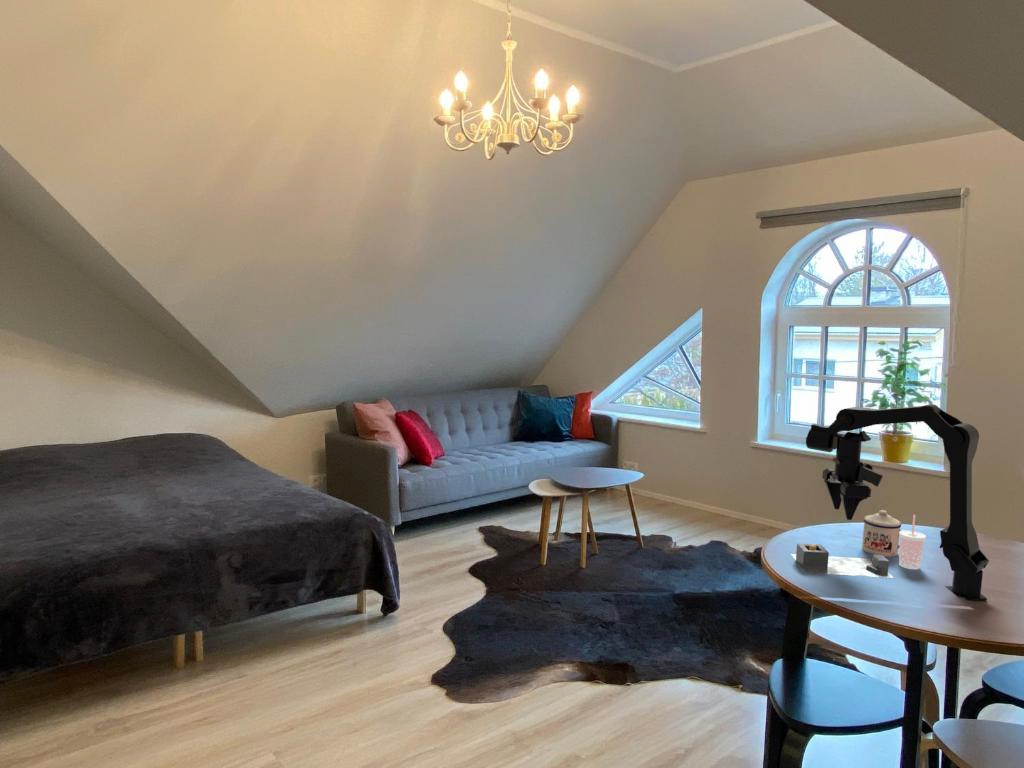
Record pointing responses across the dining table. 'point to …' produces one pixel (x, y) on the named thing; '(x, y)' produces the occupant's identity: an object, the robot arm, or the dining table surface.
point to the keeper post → (812, 547)
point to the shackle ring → (812, 557)
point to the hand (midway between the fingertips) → (842, 514)
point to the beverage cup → (911, 548)
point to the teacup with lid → (881, 534)
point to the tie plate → (855, 566)
